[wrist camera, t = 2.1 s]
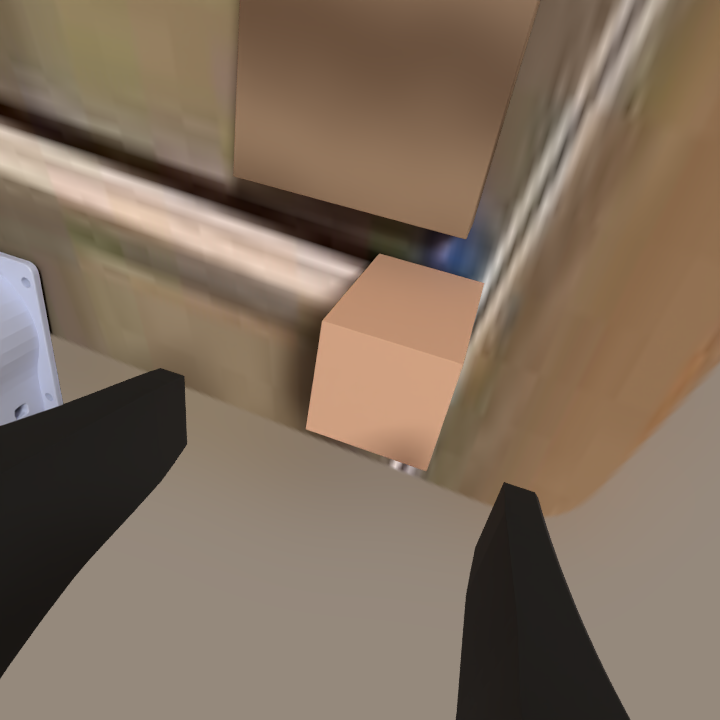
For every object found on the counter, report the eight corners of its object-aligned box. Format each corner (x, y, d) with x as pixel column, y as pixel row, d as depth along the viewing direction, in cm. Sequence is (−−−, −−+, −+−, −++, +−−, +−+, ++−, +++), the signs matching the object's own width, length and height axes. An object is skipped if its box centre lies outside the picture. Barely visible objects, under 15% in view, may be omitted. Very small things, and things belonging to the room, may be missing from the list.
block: (453, 372, 20) (426, 470, 16) (360, 343, 21) (306, 429, 16) (484, 283, 18) (463, 364, 13) (379, 253, 19) (322, 320, 14)
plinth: (473, 222, 17) (466, 239, 16) (260, 166, 19) (233, 176, 17) (564, -80, 13) (568, -101, 11) (279, -127, 14) (245, -152, 13)
